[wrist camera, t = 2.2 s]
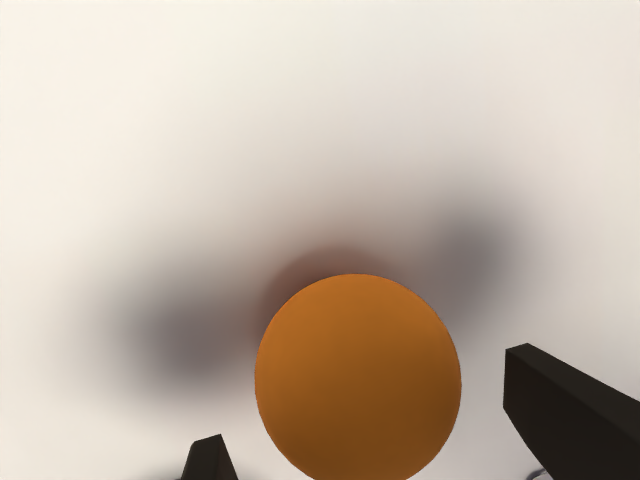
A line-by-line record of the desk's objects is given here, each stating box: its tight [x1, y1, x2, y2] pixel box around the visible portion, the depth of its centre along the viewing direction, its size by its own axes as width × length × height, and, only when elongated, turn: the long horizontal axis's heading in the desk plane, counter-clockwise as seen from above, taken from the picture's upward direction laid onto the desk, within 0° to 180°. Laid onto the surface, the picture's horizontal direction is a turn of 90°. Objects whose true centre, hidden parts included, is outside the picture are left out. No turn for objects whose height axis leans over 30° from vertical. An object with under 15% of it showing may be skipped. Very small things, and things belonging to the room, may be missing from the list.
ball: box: [254, 274, 462, 480], centre depth 12 cm, size 6×6×6 cm
